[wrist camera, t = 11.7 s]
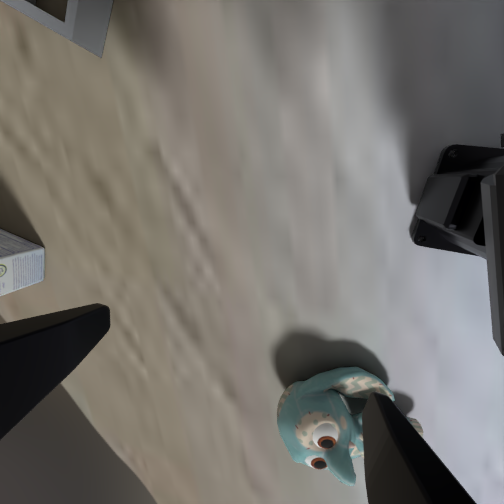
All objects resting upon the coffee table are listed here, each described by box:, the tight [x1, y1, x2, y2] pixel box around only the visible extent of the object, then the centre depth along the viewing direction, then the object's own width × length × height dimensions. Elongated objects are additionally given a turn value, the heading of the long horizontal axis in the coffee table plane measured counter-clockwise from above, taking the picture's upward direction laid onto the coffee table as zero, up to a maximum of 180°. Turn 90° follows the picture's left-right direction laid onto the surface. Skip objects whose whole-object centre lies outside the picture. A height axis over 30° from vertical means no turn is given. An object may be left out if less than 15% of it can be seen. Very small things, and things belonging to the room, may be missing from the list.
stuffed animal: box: [277, 366, 423, 486], centre depth 20 cm, size 11×7×12 cm
